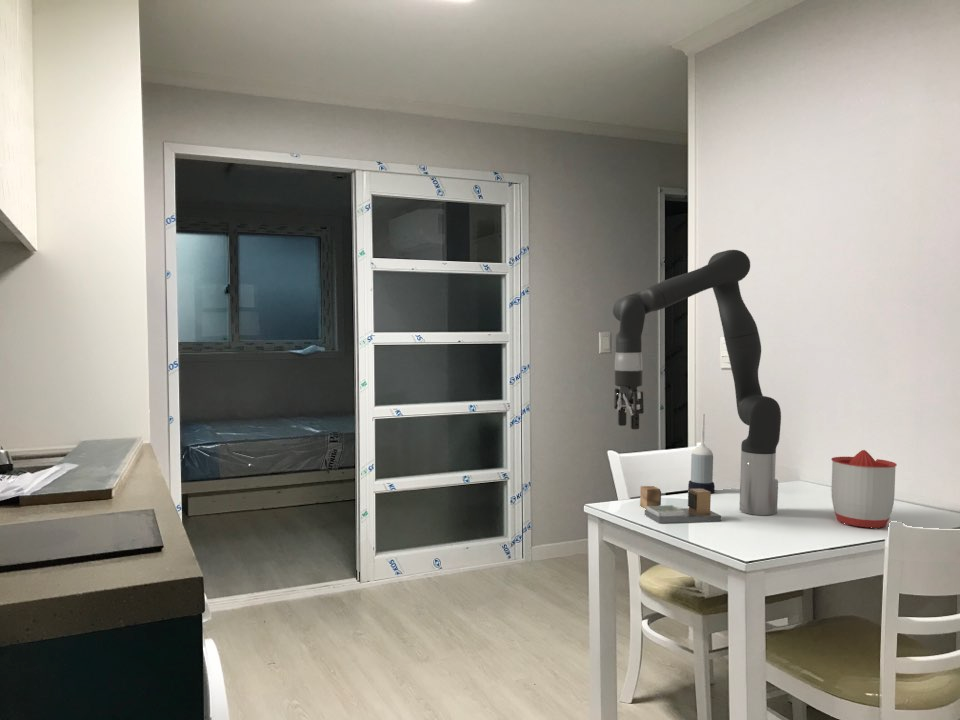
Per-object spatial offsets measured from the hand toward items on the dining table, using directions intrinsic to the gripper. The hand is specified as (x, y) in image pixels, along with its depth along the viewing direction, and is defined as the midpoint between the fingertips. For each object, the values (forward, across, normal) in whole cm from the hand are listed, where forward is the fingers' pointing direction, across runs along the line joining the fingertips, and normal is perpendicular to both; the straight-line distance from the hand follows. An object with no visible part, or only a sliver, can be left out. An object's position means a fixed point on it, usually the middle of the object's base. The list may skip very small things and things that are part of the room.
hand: (628, 427), depth 200 cm
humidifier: (+25, +25, -36) cm, 51 cm away
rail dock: (+24, -7, -13) cm, 28 cm away
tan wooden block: (+24, +5, -9) cm, 27 cm away
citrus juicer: (+26, -18, -60) cm, 68 cm away
